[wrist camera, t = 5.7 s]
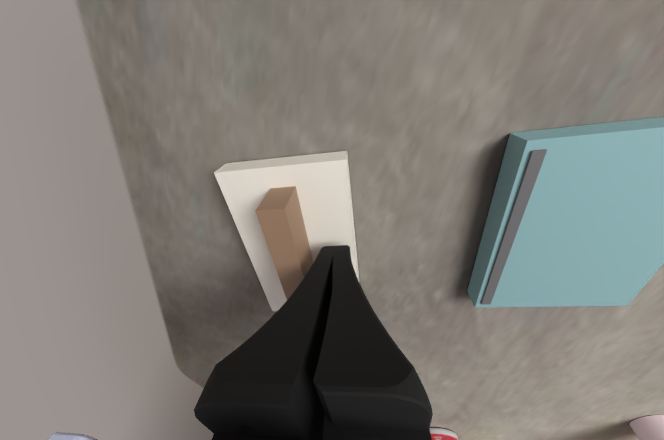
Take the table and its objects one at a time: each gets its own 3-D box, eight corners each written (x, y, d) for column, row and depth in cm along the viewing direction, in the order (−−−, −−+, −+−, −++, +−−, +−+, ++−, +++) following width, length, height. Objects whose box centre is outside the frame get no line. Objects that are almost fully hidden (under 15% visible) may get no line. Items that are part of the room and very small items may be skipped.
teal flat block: (607, 288, 14) (628, 307, 13) (467, 291, 15) (475, 308, 14) (741, 109, 9) (795, 115, 8) (509, 133, 10) (528, 141, 9)
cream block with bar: (360, 294, 16) (361, 340, 13) (277, 296, 17) (262, 339, 14) (347, 150, 11) (344, 178, 8) (225, 163, 12) (187, 192, 9)
